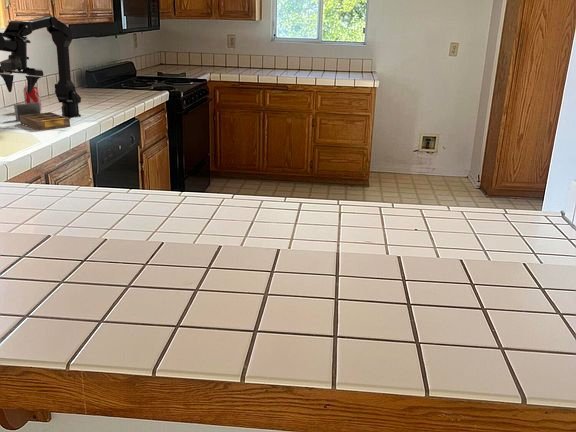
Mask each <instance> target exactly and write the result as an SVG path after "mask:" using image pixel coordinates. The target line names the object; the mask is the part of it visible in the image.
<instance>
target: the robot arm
mask: <svg viewBox="0 0 576 432" xmlns="http://www.w3.org/2000/svg"><path fill="white" fill-rule="evenodd" d="M45 28H46V31H47V32H48V33H49V34H50V35H51V40H52V43H53V44H54V45H55V46H56V56H57V59H56V60H57V68H58V70H57V71H58V72H57V73H58V81H57V83H54V94H55V96H56V97H57V101H58V103H61V116H64V117H67V118H71V117H72V118H74V117H81V116H82V114H80V109H79V108H80V107H79V104H80V103H81V102H82V97H81V96H80V94H78V92H76V90H77V89H76V85H75V84H74V82H73V81H72V79H71V78H72V76H71V65H70V64H71V63H70V62H71V61H70V52H69V51H70V49H69V47H70V45H71V43H72V42H73V41H72V40H73V31H72V29H71V28H70V27H69V26H67V25H66V24H65V23H64V22H62V21H60V20H59V19H58V18H57V17H56V16H54V15H44V16H41V17H37V18H33V19H27V20H10V21H8V24H7V26H6V28H5V30H4V31H3V32H2V31H1V32H0V51H2V52H7V53H10V54H9V55H8V58H7V59H4V60H2V61H0V77H1V78H2V79H3V81H4V83H5V86H6V88H7V91H8V93H12V90H13V83H14V78H15V77H14V75H13V74H21V75H22V74H23V75H24V77H25V78H26V80H27V81H26V82H27V84H26V85H27V89H28V94H30V93H31V92H32V90H33V88H34V86H35V85H37V82H38V81H39V79H41V78H42V77H44V72H43V70H42V68H33V67H28V60H30V57H29V56H28V51H27V50H28V49H27V47H28V46H27V45H28V44H31V43H32V42H31V40H30V39H28V36H29V35H31V34H32V33H33V32H34V31H37V30H41V29H45Z"/></svg>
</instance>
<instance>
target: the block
mask: <svg viewBox="0 0 576 432" xmlns="http://www.w3.org/2000/svg"><path fill="white" fill-rule="evenodd" d="M13 109H14V115H15V120H16V121H17V120H18V121H17V122H20V117H19V116H20V115H29V114H39V113H42V112H41V110H40V104H39V103H37V102H34V103H25V102H24V103H16V104H14V103H13Z"/></svg>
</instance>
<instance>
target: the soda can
mask: <svg viewBox="0 0 576 432" xmlns="http://www.w3.org/2000/svg"><path fill="white" fill-rule="evenodd" d="M23 87H24V88H23V96H24V97H23V98H24V103H34V102H37V103H39V104H40V111H42V107H43V106H42V99H41V92H40V91H41V90H40V89H39V86H38V85H37V84H35V86H34V88H33V90H32V92H31V93H30V94H28V89H27V84H26V85H24V86H23Z"/></svg>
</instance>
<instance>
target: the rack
mask: <svg viewBox="0 0 576 432" xmlns="http://www.w3.org/2000/svg"><path fill="white" fill-rule="evenodd" d="M19 117H20V121H19V123H21V125H23V124H24V125H23V126H25V125H27V126H26V127H28V126H29V128H31V129H34V130H37V131H45V130H52V129H53V130H54V129H60V128H61V129H62V128H67V127H71V122H70V121H71V120H70V117H65V116H62V114H61V115H60V114H56V113H53V112H52V111H51V112H49V111H48V112H41V113H39V114H29V115H20V116H19Z"/></svg>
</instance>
